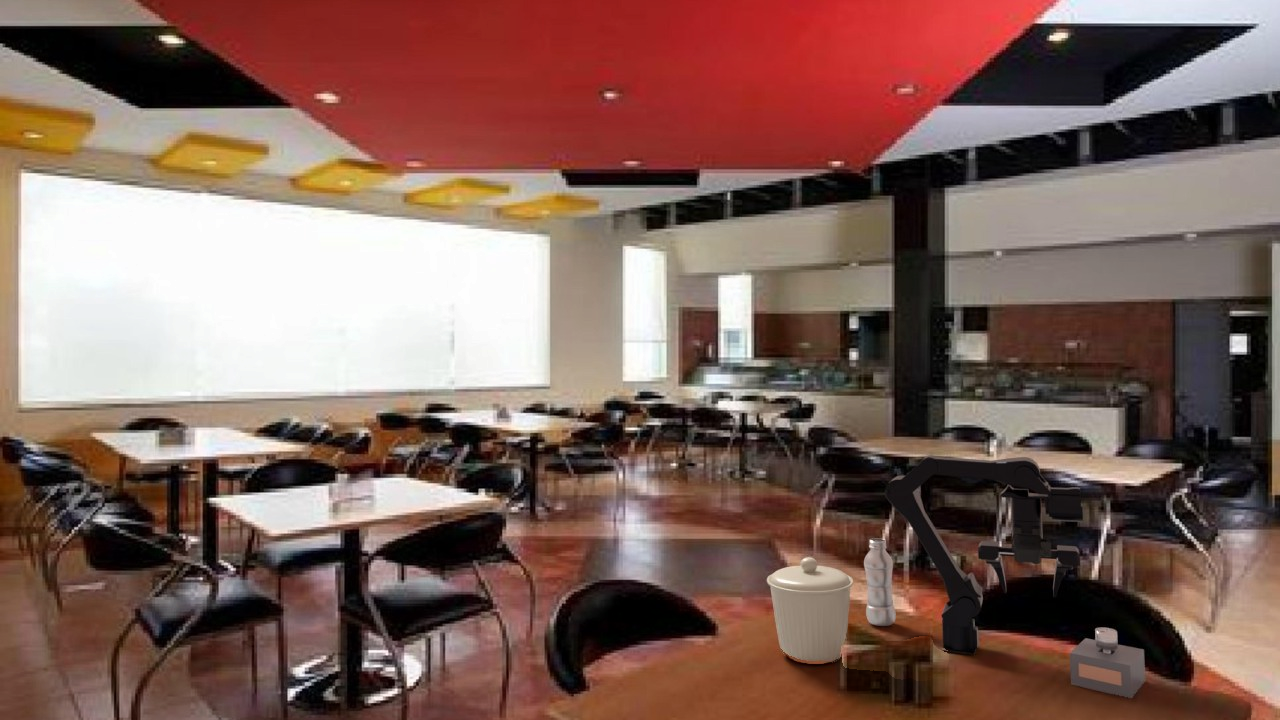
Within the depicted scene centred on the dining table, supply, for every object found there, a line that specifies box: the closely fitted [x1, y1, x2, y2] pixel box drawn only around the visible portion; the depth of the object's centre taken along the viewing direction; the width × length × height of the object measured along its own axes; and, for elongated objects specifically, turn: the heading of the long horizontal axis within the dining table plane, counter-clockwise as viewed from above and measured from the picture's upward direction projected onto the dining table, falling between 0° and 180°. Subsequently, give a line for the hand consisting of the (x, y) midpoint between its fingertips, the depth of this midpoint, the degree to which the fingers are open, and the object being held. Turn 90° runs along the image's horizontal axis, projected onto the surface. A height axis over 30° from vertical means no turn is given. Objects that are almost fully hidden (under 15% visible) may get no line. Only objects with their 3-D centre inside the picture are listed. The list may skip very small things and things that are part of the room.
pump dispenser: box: [1069, 637, 1146, 699], centre depth 151 cm, size 10×10×6 cm
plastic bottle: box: [863, 538, 897, 627], centre depth 188 cm, size 6×7×20 cm
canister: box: [766, 556, 854, 661], centre depth 170 cm, size 18×18×21 cm
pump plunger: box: [1094, 627, 1119, 654], centre depth 151 cm, size 4×4×9 cm
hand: (1029, 594), depth 165 cm, fingers open, 9 cm apart
